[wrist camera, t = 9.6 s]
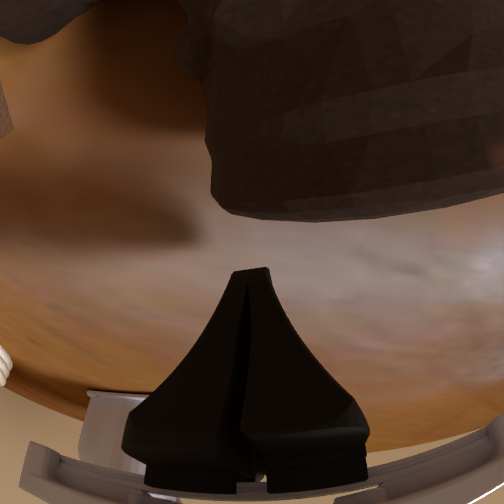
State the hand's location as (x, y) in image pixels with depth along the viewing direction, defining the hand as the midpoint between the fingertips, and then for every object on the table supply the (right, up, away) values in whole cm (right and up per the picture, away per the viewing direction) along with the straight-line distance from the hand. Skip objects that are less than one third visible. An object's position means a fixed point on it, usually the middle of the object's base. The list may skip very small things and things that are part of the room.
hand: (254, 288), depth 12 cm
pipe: (0, +12, -4) cm, 13 cm away
